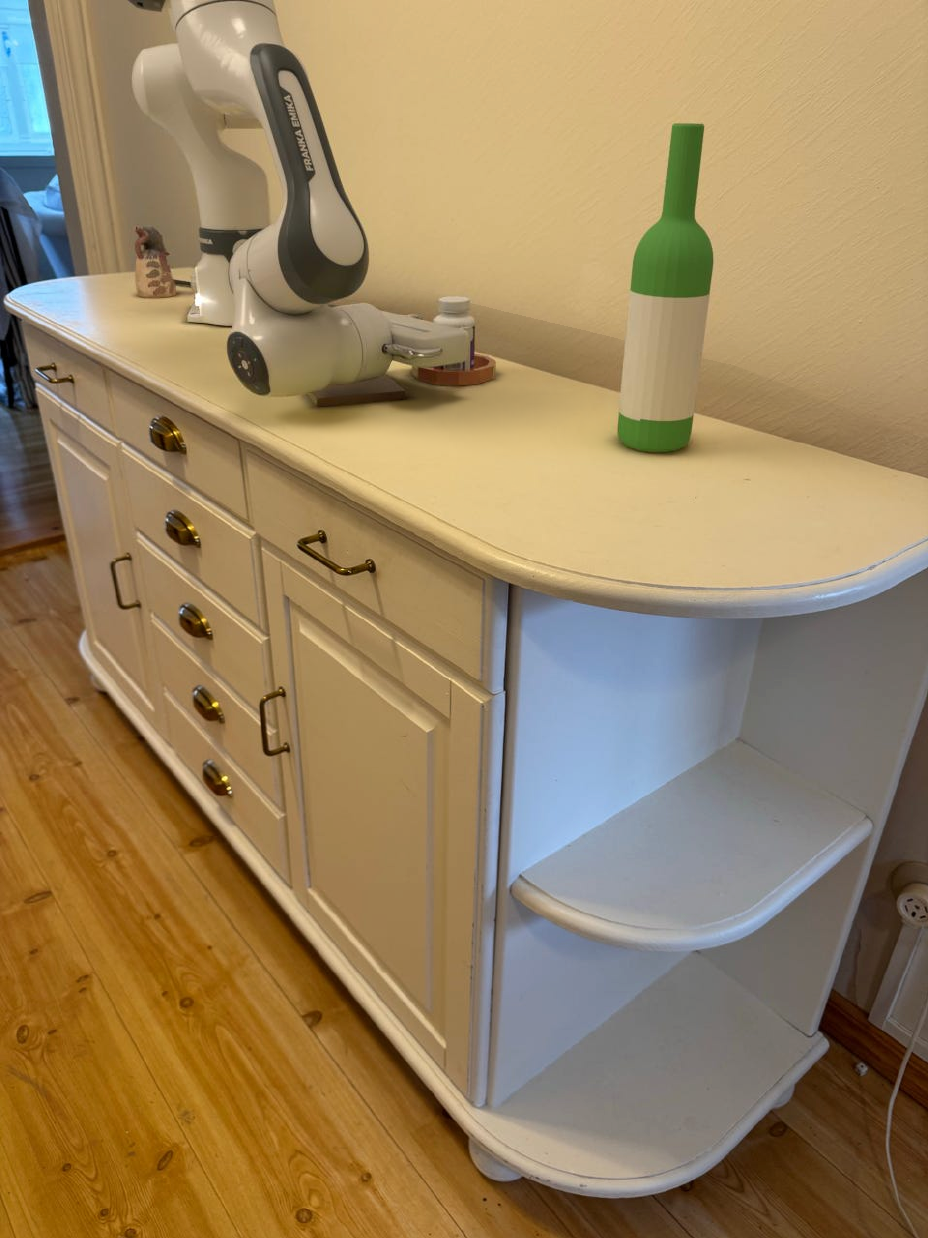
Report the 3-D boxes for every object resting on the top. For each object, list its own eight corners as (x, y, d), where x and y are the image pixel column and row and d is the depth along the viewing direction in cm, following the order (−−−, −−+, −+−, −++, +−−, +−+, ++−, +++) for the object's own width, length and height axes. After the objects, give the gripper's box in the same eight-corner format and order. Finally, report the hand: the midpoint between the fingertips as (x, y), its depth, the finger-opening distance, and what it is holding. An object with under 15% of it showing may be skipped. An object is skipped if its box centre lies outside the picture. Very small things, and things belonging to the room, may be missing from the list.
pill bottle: (454, 367, 126) (454, 293, 122) (482, 375, 123) (484, 298, 118) (425, 374, 123) (424, 298, 118) (453, 382, 120) (453, 304, 115)
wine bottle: (684, 459, 94) (727, 124, 79) (608, 449, 96) (637, 122, 82) (694, 437, 100) (736, 123, 86) (623, 429, 103) (653, 122, 88)
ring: (402, 368, 126) (402, 355, 125) (476, 362, 129) (477, 349, 128) (428, 388, 117) (428, 374, 116) (507, 381, 120) (507, 367, 119)
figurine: (184, 294, 173) (175, 225, 168) (150, 299, 169) (139, 228, 163) (164, 289, 178) (154, 222, 172) (130, 294, 173) (119, 225, 167)
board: (281, 364, 127) (280, 356, 127) (358, 358, 131) (358, 351, 130) (317, 406, 109) (316, 398, 109) (406, 398, 113) (406, 390, 112)
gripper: (416, 329, 102) (502, 313, 111) (307, 303, 115) (391, 290, 123) (417, 386, 105) (501, 366, 114) (310, 354, 118) (393, 339, 126)
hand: (443, 326), depth 119 cm, fingers open, 8 cm apart
